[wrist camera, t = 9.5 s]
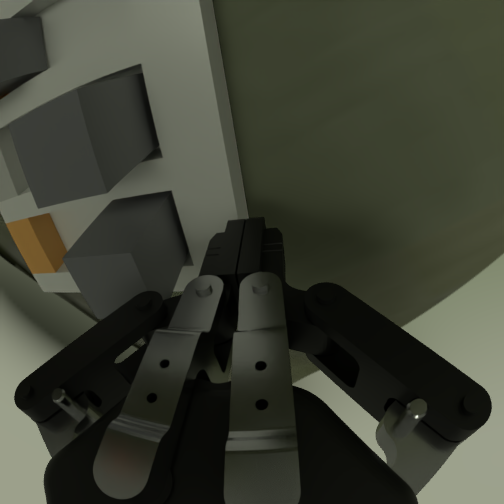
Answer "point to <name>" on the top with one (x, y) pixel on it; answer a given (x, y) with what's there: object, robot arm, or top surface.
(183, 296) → the robot arm
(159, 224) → the tab
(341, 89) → the top surface
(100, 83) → the tab
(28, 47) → the tab
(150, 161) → the switch bank
